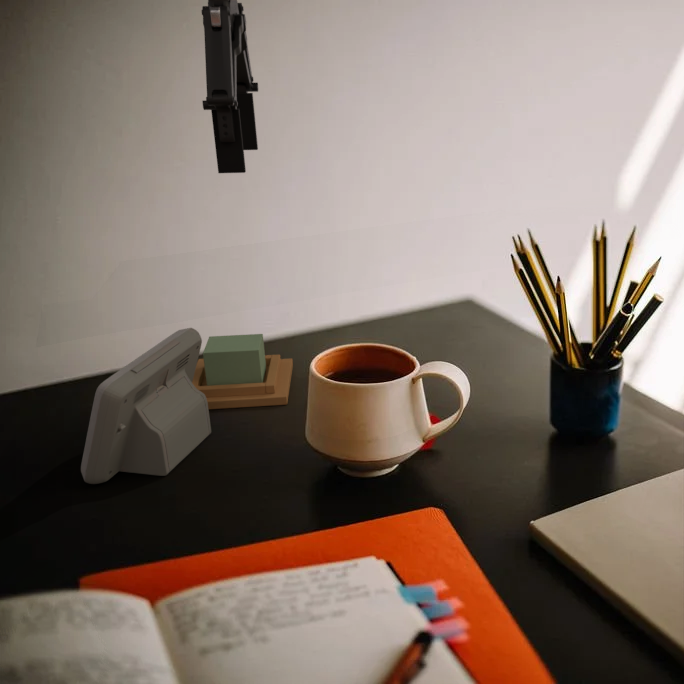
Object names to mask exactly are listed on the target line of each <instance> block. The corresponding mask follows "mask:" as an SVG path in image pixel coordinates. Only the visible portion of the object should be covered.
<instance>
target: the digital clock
mask: <svg viewBox="0 0 684 684" xmlns="http://www.w3.org/2000/svg"><path fill="white" fill-rule="evenodd" d="M202 343H203V339H202V336H201V334H200V333H199V331H198V329H195V328H193V327H188V328H182V329H178V330H176V331H175V332H173V333H172V334H170V335H169V336H168V337H166V338H164V339H163V340H162V341H160V342H159V343H157V344H155V345H154V346H152V347H151V348H150V349H148V350H146V351H145V352H144V353H142V354H141V355H139V356H138V357H136V358H135V359H134V360H132V361H131V362H129V363H128V364H126V365H125V366H124V367H122V368H121V369H118V371H115V373H113V374H112V375H110V376H109V377H108V378H106V379H104V380H103V381H102V382H101V383H100V384H99V385H98V387H96V391H95V392H94V393H95V394H94V398H93V403H92V407H91V412H90V416H89V417H90V418H89V423H88V428H87V432H86V439H85V444H84V449H83V453H82V459H81V464H80V473H81V476H82V478H83V481H84V482H85V483H86V484H89V485H98V484H103V483H106V482H108V481H109V480H110V479H112V478H113V477H114V476H115V475H116V474H118V473H119V472H121V473H122V472H123V473H130V474H131V473H132V474H140V475H150V476H157V477H158V476H159V477H166V476H167V475H169V473H171V471H173V470H174V469H175V468H176V467H177V466H178V465H179V464H180V463H182V461H183V460H184V459H186V457H187V456H189V455H190V454H191V453H192V452H193V451H194V450H195V449H196V448H197V447H198V446H199V445H201V443H203V441H204V440H205V439H206V438H208V437H209V436H210V435H211V434H212V425H211V419H210V411H209V410H210V409H208V402H207V399H206V396H205V394H204V393H202V392H201V391H199V390H197V389H196V388H195V386H194V385H193V384H192V381H193V377H194V373H195V369H196V365H197V362H198V360H199V356H200V353H201V348H202Z"/></svg>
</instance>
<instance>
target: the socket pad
mask: <svg viewBox="0 0 684 684" xmlns="http://www.w3.org/2000/svg"><path fill="white" fill-rule="evenodd" d="M265 361H266V372H265V377H264V382H263V383H247V384H230V385H213V386H207V381H206V373H205V366H204V358H198V361H197V365H196V369H195V373H194V377H193V381H192V384H193V385H194V386H195V388H196V389H197V390H199V391H201V392H202V393H204V394H205V396H206V399H207V402H208V410H221V409H222V410H223V409H224V410H225V409H237V408H255V407H269V406H270V407H271V406H286V405H288V402H289V400H288V399H289V395H290V388H291V383H292V382H291V380H292V376H293V375H292V374H293V368H294V360H293V358H292V357H291V358H281V354H265Z"/></svg>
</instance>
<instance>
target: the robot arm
mask: <svg viewBox="0 0 684 684" xmlns="http://www.w3.org/2000/svg"><path fill="white" fill-rule="evenodd" d="M201 8H202V9H201V15H202V24H203V31H204V33H203V35H204V56H205V80H206V81H205V82H206V83H205V84H206V97H205V100H202V108H203V111H211V112H210V113H211V119H212V129H213V137H214V146H215V155H216V156H215V157H216V163H217V164H216V165H217V172H218V173H217V174H245V173H246V161H245V151H258V149H259V144H258V136H257V135H258V134H257V126H256V115H255V113H256V112H255V103H254V94H253V93H258V92H259V83H258V82H254V76H253V73H252V67H251V59H250V53H249V45H248V36H247V17H246V14H245V13H244V9H245V8H244V5H243V4H242V2H238V0H207V5H203V6H202V7H201Z"/></svg>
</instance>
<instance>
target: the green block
mask: <svg viewBox="0 0 684 684" xmlns="http://www.w3.org/2000/svg"><path fill="white" fill-rule="evenodd" d="M265 352H266V351H265V342H264V334H263V333H251V334H234V335H232V334H231V335H212V336H208V339H207V342H206V344H205V347H204V349H203V352H202V359H204V366H205V373H206V381H207V386H213V385H230V384H247V383H263V382H264V377H265V372H266V361H265V355H266V353H265Z"/></svg>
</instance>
